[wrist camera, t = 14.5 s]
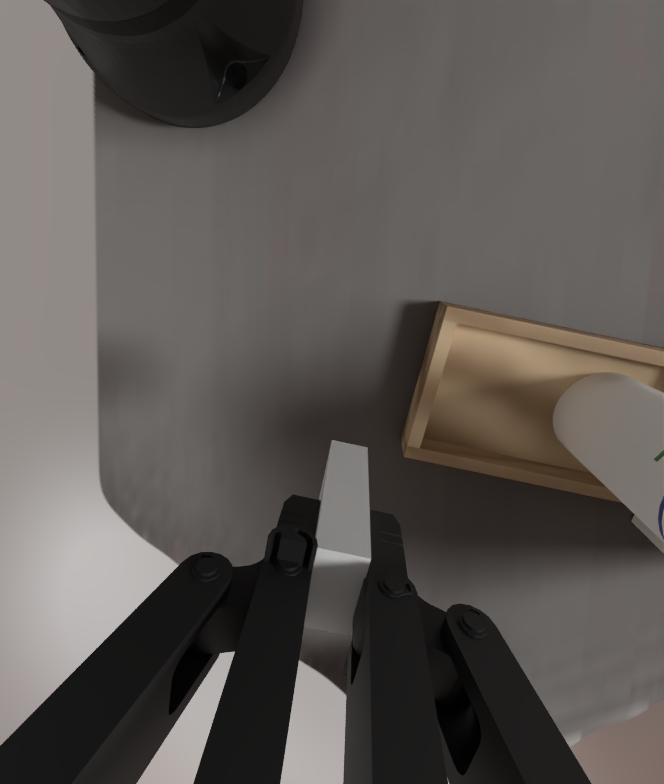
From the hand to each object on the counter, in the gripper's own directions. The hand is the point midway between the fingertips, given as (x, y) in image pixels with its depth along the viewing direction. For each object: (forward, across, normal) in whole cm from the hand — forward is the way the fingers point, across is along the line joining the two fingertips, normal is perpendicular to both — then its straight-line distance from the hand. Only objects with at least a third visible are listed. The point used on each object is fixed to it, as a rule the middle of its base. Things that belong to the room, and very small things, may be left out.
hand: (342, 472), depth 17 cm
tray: (+17, +16, 0) cm, 23 cm away
